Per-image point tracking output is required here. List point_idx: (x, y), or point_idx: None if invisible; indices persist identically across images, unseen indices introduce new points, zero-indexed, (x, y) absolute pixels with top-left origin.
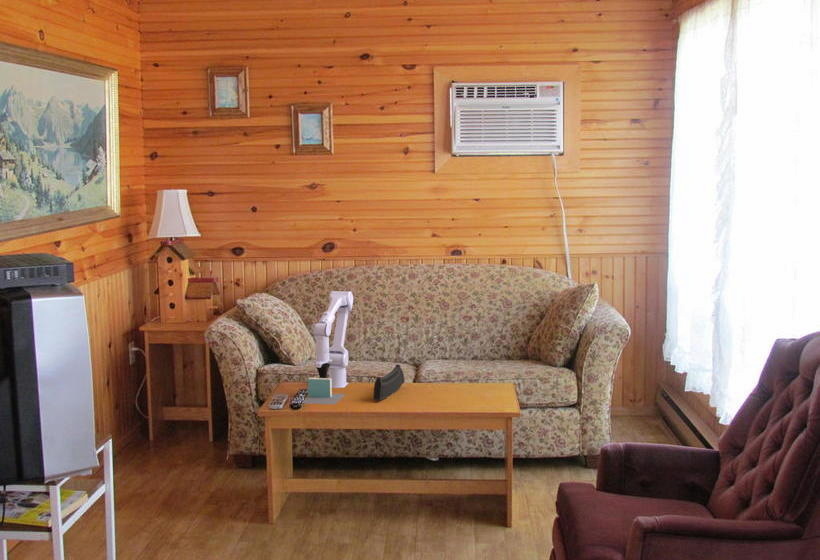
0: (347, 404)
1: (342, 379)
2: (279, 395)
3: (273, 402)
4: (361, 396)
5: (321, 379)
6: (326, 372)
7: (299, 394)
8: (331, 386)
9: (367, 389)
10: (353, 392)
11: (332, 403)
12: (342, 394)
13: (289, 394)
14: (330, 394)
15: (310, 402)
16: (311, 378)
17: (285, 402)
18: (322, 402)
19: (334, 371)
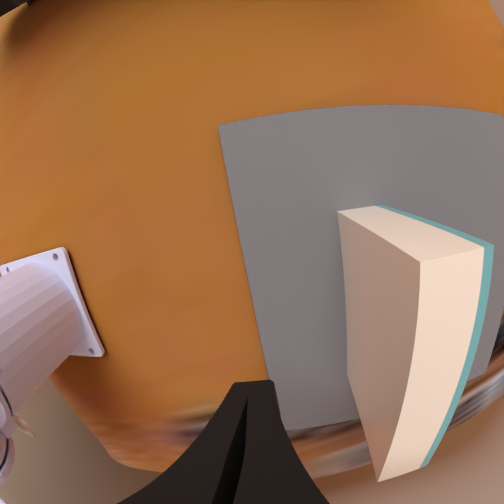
0: (455, 43)
1: (15, 282)
2: (340, 468)
3: (452, 426)
4: (224, 6)
5: (470, 367)
6: (253, 461)
7: (306, 429)
8: (371, 228)
9: (45, 89)
10: (124, 115)
11: (495, 134)
12: (242, 145)
13: (315, 454)
14: (386, 208)
15: (495, 283)
16: (410, 460)
17: (461, 396)
18: (494, 209)
19: (8, 367)
